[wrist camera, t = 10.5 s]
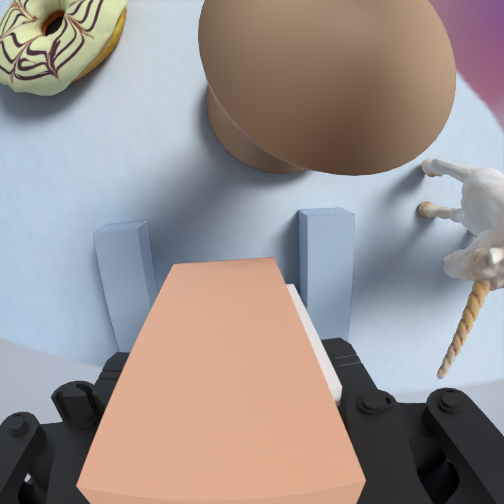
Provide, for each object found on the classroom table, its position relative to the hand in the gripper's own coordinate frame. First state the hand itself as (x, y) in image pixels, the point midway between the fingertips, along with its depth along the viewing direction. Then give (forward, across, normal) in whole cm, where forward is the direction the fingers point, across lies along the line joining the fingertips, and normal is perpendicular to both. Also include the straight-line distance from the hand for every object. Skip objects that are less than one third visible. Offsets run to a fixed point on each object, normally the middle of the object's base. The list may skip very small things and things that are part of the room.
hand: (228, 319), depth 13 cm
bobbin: (+9, +4, +10) cm, 14 cm away
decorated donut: (+9, -11, +18) cm, 23 cm away
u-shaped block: (+9, 0, -2) cm, 9 cm away
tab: (0, 0, 0) cm, 0 cm away
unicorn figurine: (+9, +17, +1) cm, 19 cm away
